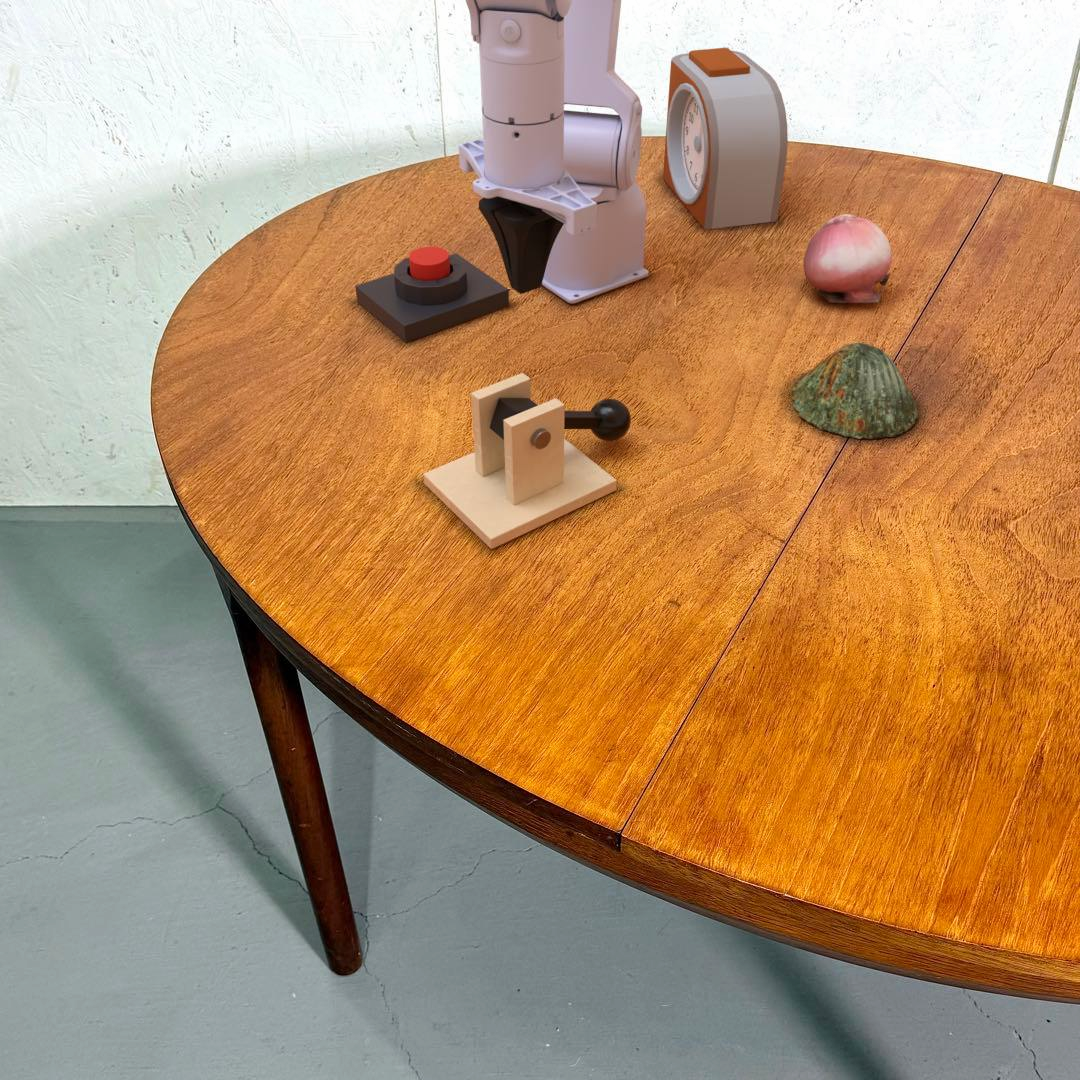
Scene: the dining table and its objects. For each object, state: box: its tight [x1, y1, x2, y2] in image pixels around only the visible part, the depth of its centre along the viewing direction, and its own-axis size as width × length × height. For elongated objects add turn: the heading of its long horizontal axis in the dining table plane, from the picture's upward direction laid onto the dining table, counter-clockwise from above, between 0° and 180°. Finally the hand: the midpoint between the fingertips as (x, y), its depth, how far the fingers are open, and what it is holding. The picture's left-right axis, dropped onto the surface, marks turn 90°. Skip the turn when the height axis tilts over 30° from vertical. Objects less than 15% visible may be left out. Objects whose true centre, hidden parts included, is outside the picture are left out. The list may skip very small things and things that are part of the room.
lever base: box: [422, 372, 617, 550], centre depth 75 cm, size 11×9×8 cm
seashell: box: [790, 342, 919, 440], centre depth 85 cm, size 10×4×10 cm
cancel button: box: [408, 246, 450, 281], centre depth 96 cm, size 4×4×2 cm
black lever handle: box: [489, 398, 632, 442], centre depth 77 cm, size 12×3×3 cm, turn 126°
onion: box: [803, 213, 893, 304], centre depth 97 cm, size 8×8×7 cm
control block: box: [355, 253, 510, 344], centre depth 97 cm, size 11×9×4 cm
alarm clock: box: [662, 47, 789, 231], centre depth 111 cm, size 15×8×14 cm, turn 14°
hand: (526, 287), depth 83 cm, fingers closed
